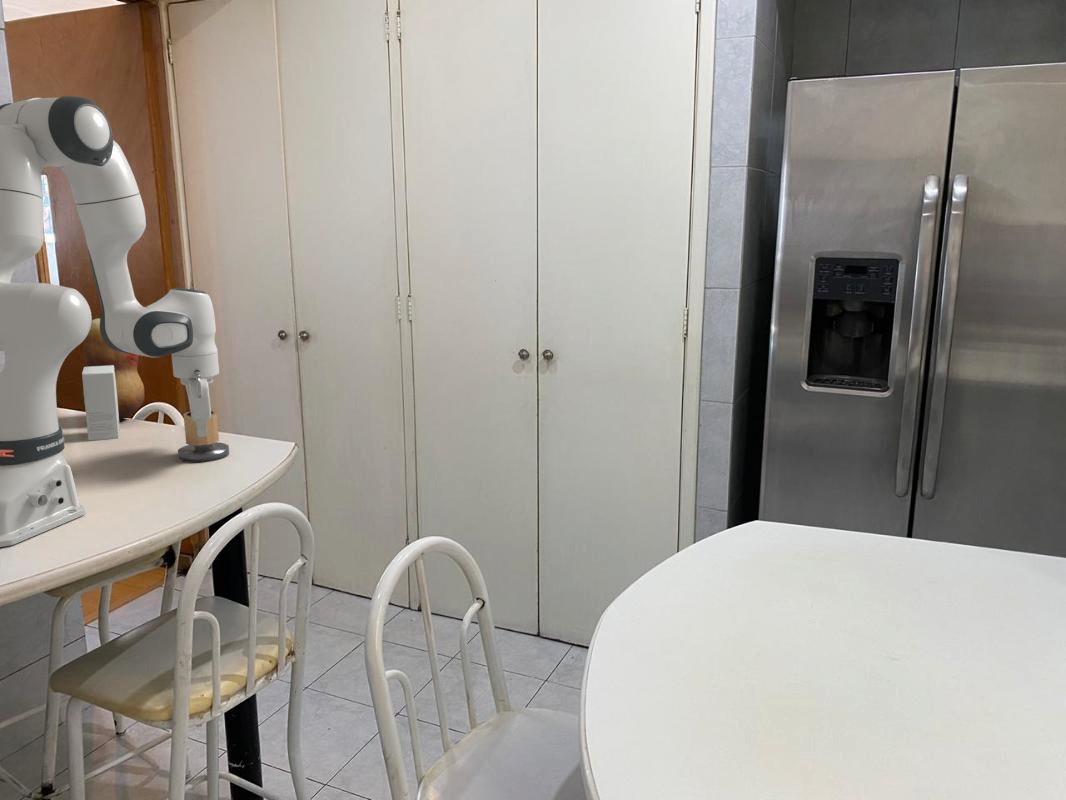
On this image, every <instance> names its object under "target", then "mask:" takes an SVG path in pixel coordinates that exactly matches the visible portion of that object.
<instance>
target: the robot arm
mask: <svg viewBox="0 0 1066 800" xmlns="http://www.w3.org/2000/svg"><path fill="white" fill-rule="evenodd" d="M112 129H113V128H112V126H111V123H110V121H109V119H108V117H107V116H106V114H105V112H104V111H103V110H102V109H101V108H100V107H99V106H98V104H97V103H95V102H94V101H93V100H91V99H88V98H85V97H80V96H72V95H63V96H61V97H44V98H42V97H33V98H29V99H23V100H20V101H17V102H10V103H4V104H1V105H0V352H1V351H2V352H4V364H3V368H2V370H1V371H0V548H1V547H3V548H4V547H9V546H13V545H16V544H18V543H20V542H23V541H26V540H28V539H29V538H32V537H34V536H38V535H40V534H42V533H44V532H47V531H50V530H52V529H54V528H56V527H59V526H61V525H64V524H65V523H68V522H70V521H73V520H75V519H78V518H80V517H82V516H85V515H86V510H85V507H84V506H83V505H82V504H80V502H79V498H78V494H77V488H76V484H75V480H74V476H73V472H72V469H71V466H70V465H69V463H68V462H67V459H66V458H65V455H64V452H63V451H64V449H65V448H66V447H65V436H64V434H63V429H62V428H61V427H60V425H59V419H58V418H59V415H58V409H57V408H58V406H57V381H58V377H59V373H60V370H61V367H62V366H63V363H64V362H65V359H66V358H67V357H68V356H69V355H70V353H71V352H72V351H73V350H74V349H76V347H78V346H79V345H81V344H82V343H84V342H83V341H84V339H85V338H86V337H87V335H88V333H89V331H90V328H91V322H92V320H93V319H92V312H91V311H92V310H91V308H90V305H89V303H88V301H87V299H86V298H85V297H84V296H83V294H81V293H80V291H78V290H77V289H75V288H73V287H68V286H67V287H66V286H63V285H58V284H53V283H46V282H11V280H12V277H13V274H14V272H15V271H16V269H17V268H18V266H19V265H20V264H21V263H23V262H24V261H26V260H29V259H30V258H32V257H34V256H35V255H37V254H38V253H39V252H40V251H41V248H42V246H43V244H44V240H45V239H44V238H45V236H44V235H45V233H44V195H43V194H44V192H43V191H44V190H43V189H44V188H43V181H42V173H43V170H44V168H45V167H53V168H57V167H58V168H60V170H61V171H62V172H63V173H64V174H65V176H66V177H67V179H68V183H69V187H70V191H71V196H72V199H73V202H74V204H75V207H76V210H77V211H76V212H77V214H78V216H79V219H80V223H81V226H82V229H83V232H84V233H83V234H84V236H85V242H86V248H87V253H88V257H89V262H90V267H91V269H92V270H91V271H92V274H93V278H94V282H95V285H96V291H97V293H98V298H99V303H100V316H99V317H100V333H101V336H102V339H103V340H104V342H105V343H106V345H107V346H108V347H110V348H111V349H112V350H114V351H116V352H119V353H125V354H136V355H139V356H141V357H148V358H161V357H165V356H170V355H171V363H172V374H173V377H174V378H178V379H180V385H183V386H185V390H186V393H187V394H186V395H187V397H188V398H187V399H188V403H189V410H190V411H189V412H191V417H192V420H194V421H196V426H197V434H198V437H205V436H207V420H208V419H210V418H211V410H212V409H211V398H210V397H211V396H210V389H209V388H210V386H209V384H213V383H214V376H215V377H216V376H217V375H219V374H220V366H219V365H220V363H219V354H218V351H219V349H218V347H217V345H216V332H217V327H216V316H215V310H214V305H213V301H212V299H211V297H210V295H209V294H208V293H207V292H206V291H203V290H198V289H192V288H191V289H189V288H182V287H173V288H171V289H169V291H168V292H167V293H166V294H165V295H163V297H161V298H160V299H158V300H156V302H153V303H151V304H149V305H146V306H143V305H142V304H140V302H139V301H138V300H137V298H136V296H135V292H134V288H133V284H132V280H131V276H130V271H129V270H130V269H129V267H128V254H129V251H130V250H131V248H132V246H133V245H134V244H136V243H137V242H138V241H139V240H140V238H141V237H142V235H143V234H144V232H145V230H146V227H147V222H146V221H147V220H146V219H147V217H146V211H145V207H144V202H143V199H142V196H141V192H140V189H139V185H138V184H137V181H136V178H135V175H134V173H133V171H132V167H131V166H130V164H129V162H128V159H127V157H126V156H125V153H124V151H123V150H122V148H121V147H120V145H119V144H118V143H117V142H116V141H115V140H114V134H113V130H112Z"/></svg>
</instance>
